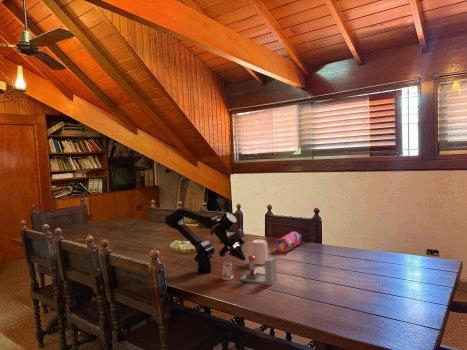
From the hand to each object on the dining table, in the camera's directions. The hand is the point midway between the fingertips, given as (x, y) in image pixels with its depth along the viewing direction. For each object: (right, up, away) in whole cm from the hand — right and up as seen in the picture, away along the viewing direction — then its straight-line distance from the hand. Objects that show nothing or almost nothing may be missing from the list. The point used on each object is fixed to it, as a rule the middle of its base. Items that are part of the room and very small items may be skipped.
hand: (244, 260), depth 159 cm
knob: (-8, -9, +2) cm, 13 cm away
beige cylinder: (+9, -7, +22) cm, 25 cm away
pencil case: (+29, -5, +47) cm, 56 cm away
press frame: (+9, -8, +2) cm, 12 cm away
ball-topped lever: (+4, -8, -1) cm, 9 cm away
